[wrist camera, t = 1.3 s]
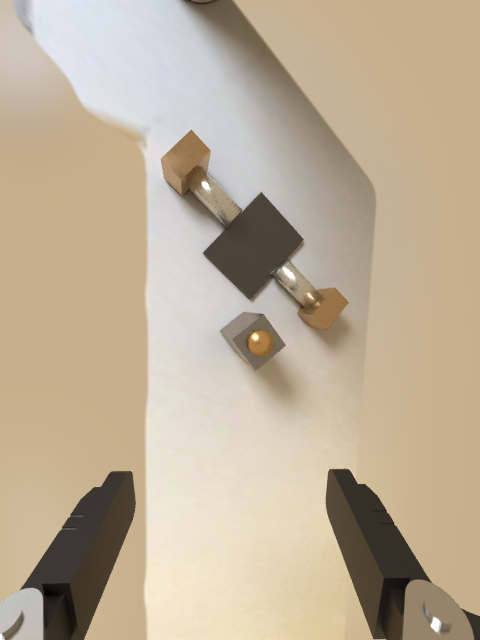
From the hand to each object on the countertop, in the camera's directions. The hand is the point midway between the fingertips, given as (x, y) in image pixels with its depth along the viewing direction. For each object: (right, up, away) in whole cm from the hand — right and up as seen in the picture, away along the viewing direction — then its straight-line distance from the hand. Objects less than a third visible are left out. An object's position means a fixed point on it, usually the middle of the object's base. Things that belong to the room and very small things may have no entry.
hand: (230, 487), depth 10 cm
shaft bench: (+3, +17, +25) cm, 31 cm away
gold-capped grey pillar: (+1, +5, +25) cm, 26 cm away
